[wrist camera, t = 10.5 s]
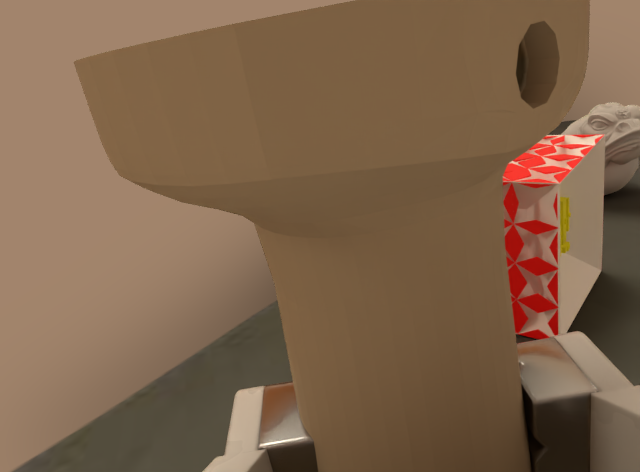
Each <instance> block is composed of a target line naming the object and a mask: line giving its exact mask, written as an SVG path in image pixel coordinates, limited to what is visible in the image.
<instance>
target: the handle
mask: <svg viewBox="0 0 640 472" xmlns="http://www.w3.org/2000/svg"><path fill="white" fill-rule="evenodd" d="M589 1H590V0H355V1H350V2H345V3H340V4H334V5H329V6H324V7H319V8H314V9H309V10H303V11H299V12H293V13H288V14H282V15H277V16H272V17H267V18H262V19H257V20H251V21H246V22H241V23H236V24H232V25H226V26H221V27H217V28H212V29H207V30H203V31H199V32H193V33H189V34H184V35H179V36H175V37H171V38H166V39H161V40H157V41H152V42H148V43H143V44H139V45H135V46H130V47H126V48H122V49H117V50H113V51H109V52H105V53H101V54H97V55H94V56H90V57H86V58H83V59H80V60H76V61H75V62H74V64H75V67H76V70H77V73H78V76H79V79H80V82H81V85H82V88H83V91H84V94H85V97H86V100H87V102H88V106H89V108H90V111H91V114H92V117H93V120H94V123H95V125H96V128H97V131H98V134H99V136H100V139H101V142H102V145H103V147H104V149H105V151H106V153H107V155H108V157H109V160H110V162H111V163H112V165H113V166H114V168H115V170H116V171H117V172H118V174H119V175H120V176H121V177H123V178H125V179H127V180H129V181H131V182H133V183H135V184H137V185H139V186H141V187H143V188H146V189H148V190H151V191H153V192H155V193H158V194H161V195H164V196H166V197H169V198H172V199H175V200H177V201H180V202H184V203H188V204H193V205H198V206H204V207H208V208H214V209H219V210H223V211H226V212H230V213H234V214H238V215H242V216H244V217H245V218H247V219H249V220H250V221H252V222H253V223H254V224H255V227H256V230H257V233H258V236H259V239H260V242H261V245H262V248H263V251H264V254H265V257H266V260H267V263H268V266H269V269H270V272H271V275H272V278H273V281H274V284H275V289H276V294H277V299H278V305H279V310H280V315H281V320H282V326H283V331H284V336H285V341H286V347H287V352H288V357H289V362H290V368H291V373H292V378H293V383H294V389H295V394H296V399H297V405H298V410H299V415H300V418H301V421H302V423H303V425H304V428H305V429H306V430H307V432H308V433H309V435H310V436H311V437H312V439H313V440H314V446H315V452H316V459H317V466H318V472H532V469H531V460H530V452H529V440H528V430H527V424H526V419H525V411H524V402H523V394H522V385H521V376H520V368H519V359H518V351H517V342H516V334H515V325H514V317H513V309H512V300H511V292H510V283H509V275H508V266H507V258H506V249H505V230H504V202H503V174H504V172H505V170H506V167H507V165H508V163H509V162H511V161H513V160H514V159H516V158H517V157H519V156H520V155H522V154H523V153H525V152H526V151H527V150H529V149H530V148H531V147H533V146H534V145H535V144H537V143H538V142H539V141H540V140H542V139H543V138H544V137H545V136H547V135H548V134H549V133H550V132H551V131H553V130H554V129H555V128H556V127H558V126H559V124H560V123H561V121H562V120H563V118H564V117H565V116H566V114H567V113H568V111H569V110H570V109H571V107H572V105H573V103H574V101H575V99H576V97H577V95H578V93H579V91H580V89H581V86H582V83H583V81H584V78H585V72H586V66H587V60H588V50H589V15H590V11H589V10H590V4H589V3H590V2H589Z"/></svg>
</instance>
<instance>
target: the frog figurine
mask: <svg viewBox="0 0 640 472" xmlns="http://www.w3.org/2000/svg"><path fill="white" fill-rule="evenodd" d="M595 134H605V165H604V195H607V194H611V193H613V192H616V191H618V190H620V189H621V188H622V187H624V186H625V185H626V184H627V183H628V182H629V181H630V180H631V178H632V177H633V175H634V173H635V171H636V170H637V169H638V167H639V159H638V157H639V156H640V107H639V106H637V105H629V106H626V107H625V106H623V105H621V104H619V103H612V102H611V103H610V102H609V103H606V104H605V105H602V104H600V105H597V106H596V107H594V108H593V109H591V110H590V113H589V114H587V115H586V116H584V117H583V118H581V119H579V120H577V121H575V122H574V123H572V124H571V125H570V126H569V127H568V128H567V129H566V131H565V132H563V133H562V134H561V135H595Z"/></svg>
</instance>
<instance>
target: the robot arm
mask: <svg viewBox="0 0 640 472" xmlns="http://www.w3.org/2000/svg"><path fill="white" fill-rule="evenodd" d="M517 351H518V359H519V368H520V376H521V385H522V394H523V402H524V411H525V419H526V424H527V430H528V440H529V452H530V460H531V469H532V472H640V385H638V386H634V385H633V384H632V383H631V382H630V381H629V380H628V379H627V378H626V377H625V376H624V375H623V374H622V373H621V372H620V371H619V370H618V369H617V368H616V367H615V366H614V364H613V363H612V362H611V361H610V360H609V359H608V358H607V357H606V356H605V355H604V354H603V353H602V352H601V351H600V350H599V349H598V348H597V347H596V346H595V345H594V344H593V343H592V342H591V340H590V339H589V338H588V337H587V336H586V335H585V334H584V333H582V332H579V331H575V332H570V333H565V334H560V335H555V336H550V338H545V339H539V340H534V341H528V342H523V343H517ZM203 472H318V466H317V459H316V452H315V446H314V440H313V439H312V437H311V436H310V435H309V433H308V432H307V430H306V429H305V428H304V425H303V423H302V421H301V418H300V415H299V410H298V405H297V399H296V394H295V389H294V383H293V381H292V382H286V383H279V384H273V385H266V386H260V387H254V388H248V389H243V390H239V391H238V392H237V393H236V395H235V399H234V405H233V410H232V416H231V421H230V427H229V433H228V438H227V444H226V449H225V455H224V456H220V457H216V458H215V459H214V460H213V461H212V462H211V463H210V464H209V465H208V467H207V468H206V469H205V470H204V471H203Z"/></svg>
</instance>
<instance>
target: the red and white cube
mask: <svg viewBox="0 0 640 472" xmlns="http://www.w3.org/2000/svg"><path fill="white" fill-rule="evenodd" d="M604 165H605V134H595V135H547V136H545V137H544V138H543V139H542V140H540V141H539V142H538V143H537V144H535V145H534V146H533V147H531V148H530V149H529V150H527V151H526V152H525V153H523V154H522V155H520V156H519V157H517V158H516V159H514V160H513V161H511V162H509V163H508V165H507V167H506V170H505V172H504V174H503V202H504V230H505V249H506V258H507V266H508V275H509V283H510V292H511V300H512V309H513V317H514V325H515V334H518V335H522V336H527V337H531V338H536V339H545V338H550V336H555V335H560V334H565V333H567V331H568V329H569V327H570V326H571V324H572V322H573V320H574V319H575V317H576V315H577V313H578V312H579V310H580V308H581V306H582V304H583V303H584V301H585V299H586V297H587V296H588V294H589V292H590V290H591V288H592V287H593V285H594V283H595V281H596V280H597V278H598V276H599V274H600V272H601V271H602V241H603V204H604Z"/></svg>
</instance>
